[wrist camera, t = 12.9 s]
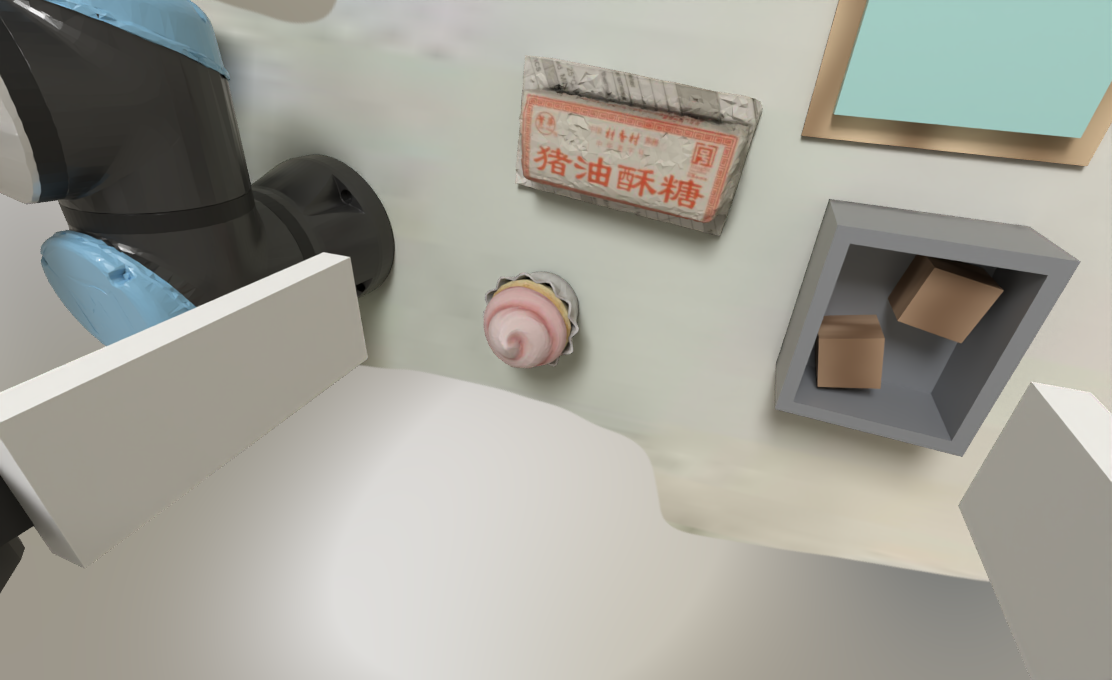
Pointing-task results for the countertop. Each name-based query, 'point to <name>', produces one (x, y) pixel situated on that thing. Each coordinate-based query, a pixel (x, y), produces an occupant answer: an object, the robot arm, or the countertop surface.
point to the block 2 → (943, 296)
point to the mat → (932, 135)
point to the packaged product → (633, 142)
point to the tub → (911, 353)
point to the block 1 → (849, 352)
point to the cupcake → (531, 319)
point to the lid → (981, 64)
